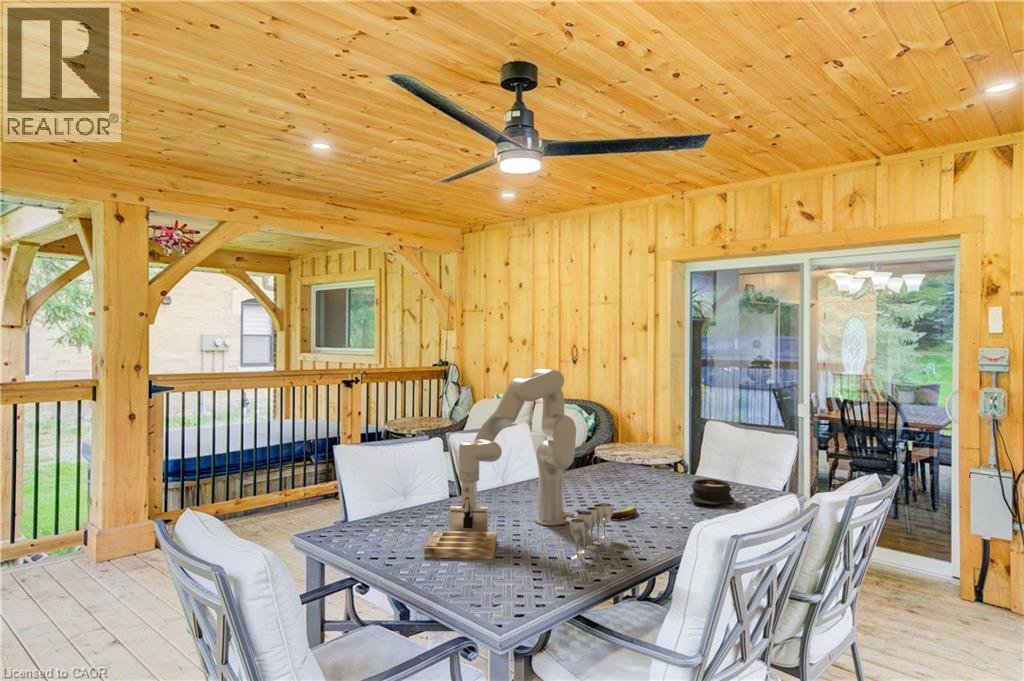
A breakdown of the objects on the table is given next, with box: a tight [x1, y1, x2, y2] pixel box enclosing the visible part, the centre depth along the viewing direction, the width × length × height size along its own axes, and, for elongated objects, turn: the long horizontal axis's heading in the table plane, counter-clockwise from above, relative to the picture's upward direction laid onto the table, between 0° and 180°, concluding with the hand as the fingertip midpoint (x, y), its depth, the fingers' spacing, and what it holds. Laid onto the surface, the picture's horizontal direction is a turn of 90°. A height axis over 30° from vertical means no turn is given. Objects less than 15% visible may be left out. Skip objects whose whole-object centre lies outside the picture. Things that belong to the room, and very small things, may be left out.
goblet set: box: [569, 502, 614, 561], centre depth 202 cm, size 28×6×13 cm, turn 148°
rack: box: [423, 530, 498, 560], centre depth 200 cm, size 22×18×3 cm
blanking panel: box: [448, 505, 489, 532], centre depth 217 cm, size 14×3×10 cm, turn 86°
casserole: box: [689, 478, 734, 506], centre depth 263 cm, size 25×19×8 cm
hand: (468, 525), depth 217 cm, fingers open, 4 cm apart
